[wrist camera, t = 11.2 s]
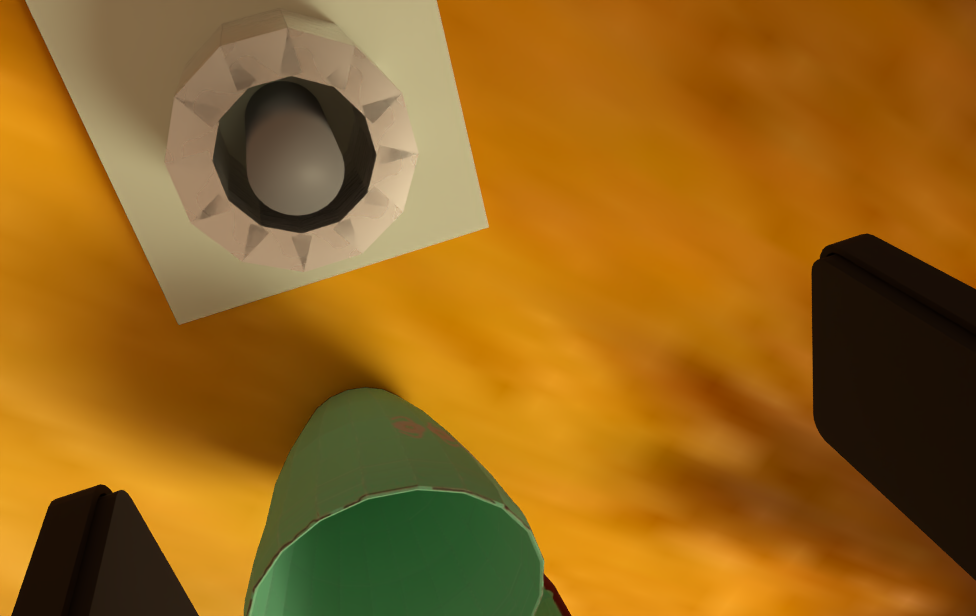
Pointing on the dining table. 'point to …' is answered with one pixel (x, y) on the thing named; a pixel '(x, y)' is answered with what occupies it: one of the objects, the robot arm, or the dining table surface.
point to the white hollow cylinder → (223, 180)
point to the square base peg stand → (258, 131)
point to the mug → (392, 524)
